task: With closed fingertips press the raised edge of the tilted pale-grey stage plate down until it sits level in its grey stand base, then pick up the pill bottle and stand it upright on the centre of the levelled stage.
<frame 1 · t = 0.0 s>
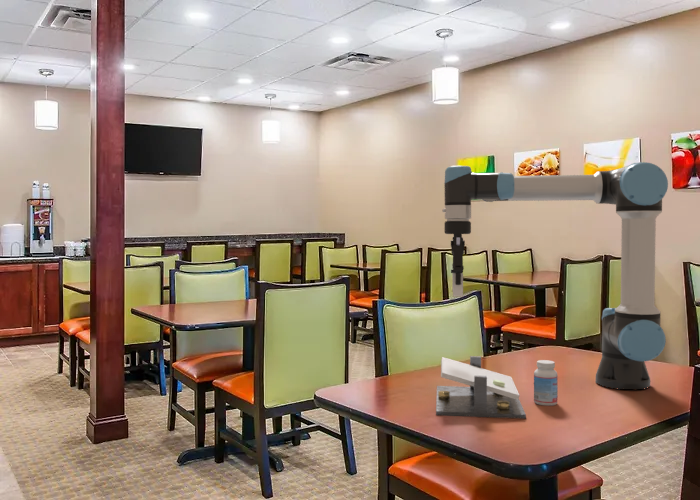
hand: (457, 294, 185), 28 cm above the table, fingers open, 13 cm apart
stage: (478, 375, 173), point 7 cm above the table, hinge at 15.0°
grey stand base: (477, 402, 173), on the table
pill bottle: (545, 404, 172), on the table
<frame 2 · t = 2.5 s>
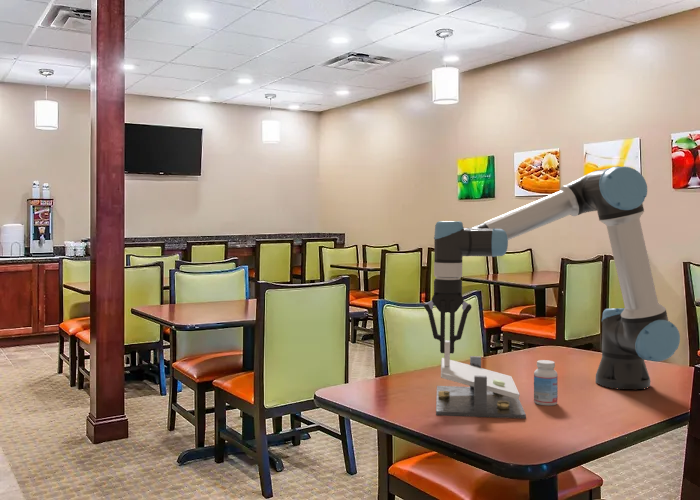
hand: (446, 365, 174), 10 cm above the table, fingers closed
stage: (478, 375, 173), point 7 cm above the table, hinge at 14.0°, touching gripper
everything else where it was.
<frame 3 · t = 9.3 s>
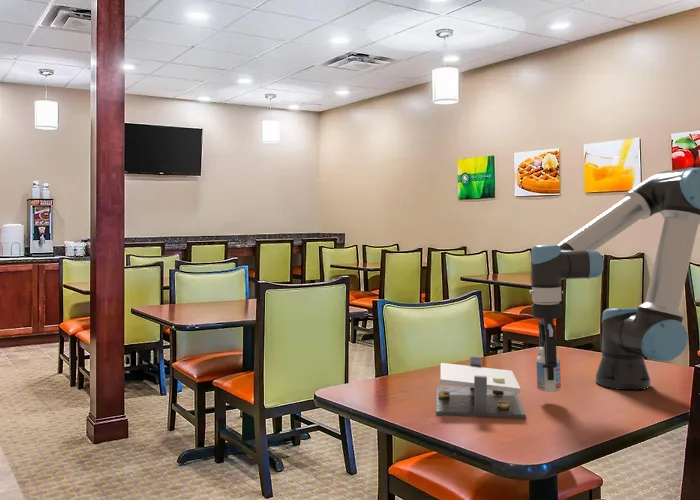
hand: (548, 388, 172), 4 cm above the table, fingers closed on pill bottle, 6 cm apart
stage: (477, 375, 173), point 7 cm above the table, hinge at 5.0°
pill bottle: (549, 390, 172), point 3 cm above the table, touching gripper
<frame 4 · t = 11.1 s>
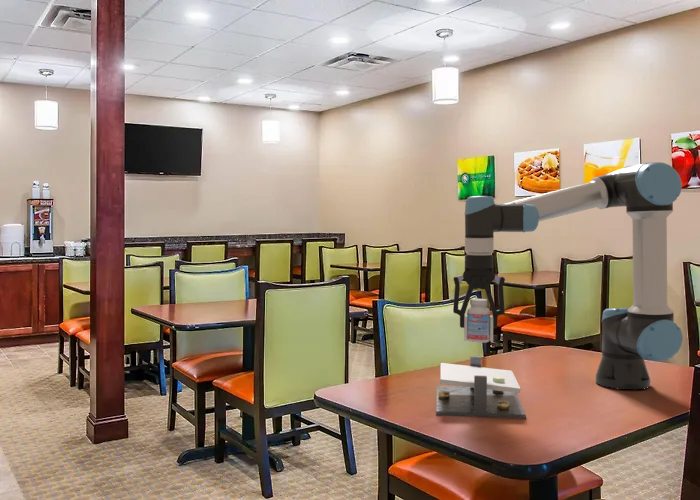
hand: (478, 339, 172), 17 cm above the table, fingers closed on pill bottle, 6 cm apart
pill bottle: (478, 341, 172), point 17 cm above the table, touching gripper
everything else where it was.
when the fingers open (9 cm above the table, at t = 13.3 s): pill bottle stays where it is, resting on stage.
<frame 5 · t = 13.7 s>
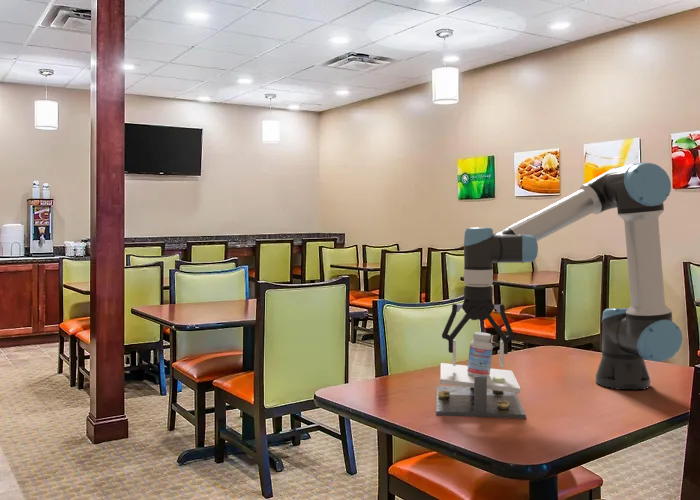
hand: (477, 365, 172), 10 cm above the table, fingers open, 12 cm apart
stage: (477, 375, 173), point 7 cm above the table, hinge at 4.9°, touching pill bottle
pill bottle: (478, 375, 172), point 7 cm above the table, touching stage
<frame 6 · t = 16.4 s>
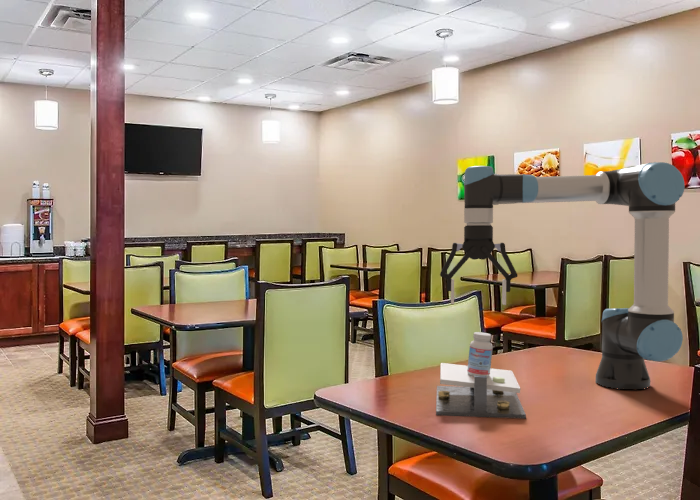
hand: (478, 304, 172), 27 cm above the table, fingers open, 13 cm apart
nothing on the table moved.
at the end: stage at +5° (first picture: +15°); pill bottle inside the target area on the stage (0.2 cm from its centre), point 0.4 cm above the stage's base; pill bottle tilted 5° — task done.
